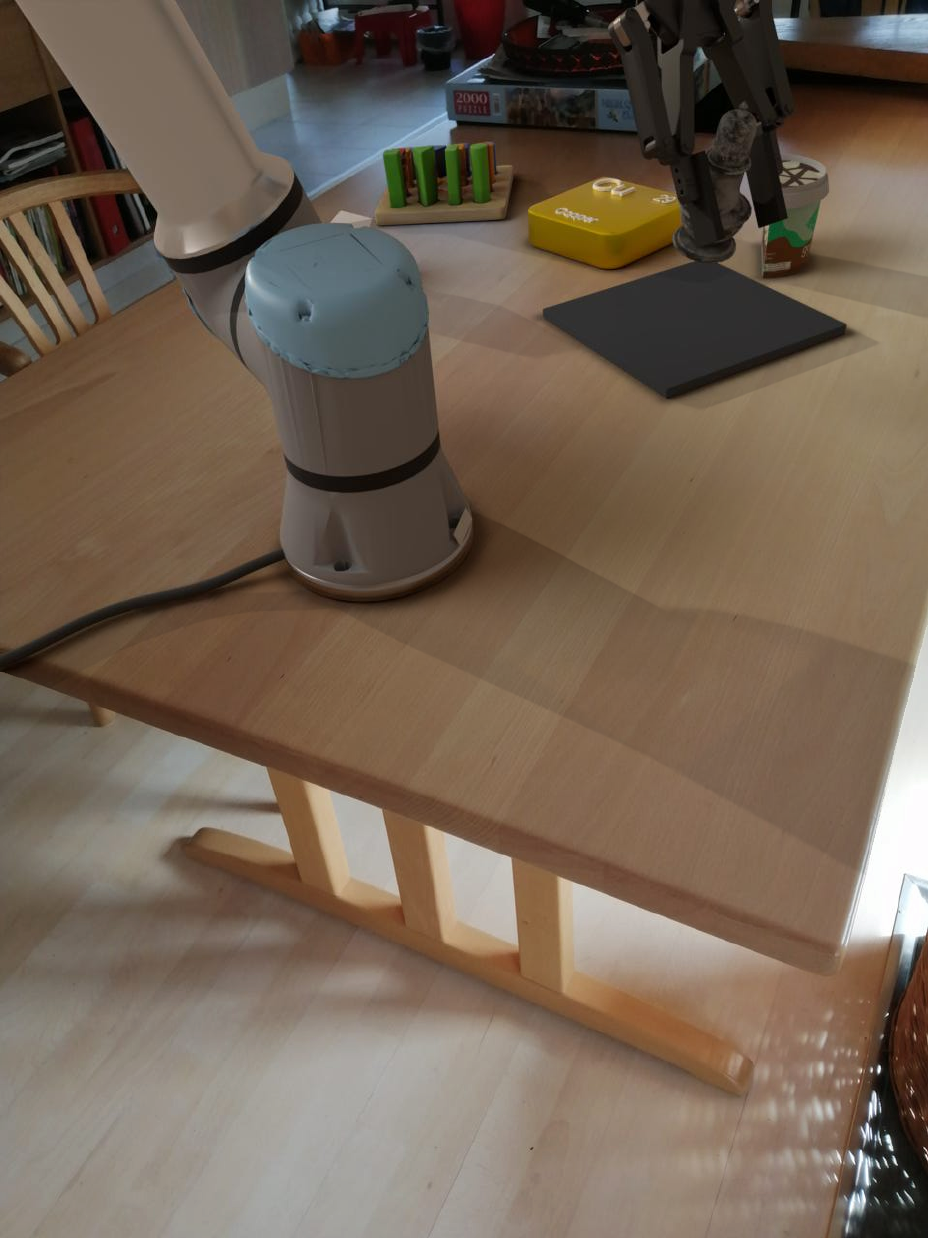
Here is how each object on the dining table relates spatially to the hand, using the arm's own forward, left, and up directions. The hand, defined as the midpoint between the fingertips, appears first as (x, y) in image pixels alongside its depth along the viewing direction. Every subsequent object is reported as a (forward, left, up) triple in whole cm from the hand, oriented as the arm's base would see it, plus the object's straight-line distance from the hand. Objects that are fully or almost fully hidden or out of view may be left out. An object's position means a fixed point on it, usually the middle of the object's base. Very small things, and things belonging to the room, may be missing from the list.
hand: (742, 232), depth 79 cm
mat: (+9, +17, -17) cm, 26 cm away
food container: (+28, +23, -17) cm, 41 cm away
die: (-15, +49, -17) cm, 54 cm away
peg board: (+7, +68, -17) cm, 71 cm away
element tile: (+16, +42, -17) cm, 49 cm away
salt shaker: (0, +5, -2) cm, 5 cm away
